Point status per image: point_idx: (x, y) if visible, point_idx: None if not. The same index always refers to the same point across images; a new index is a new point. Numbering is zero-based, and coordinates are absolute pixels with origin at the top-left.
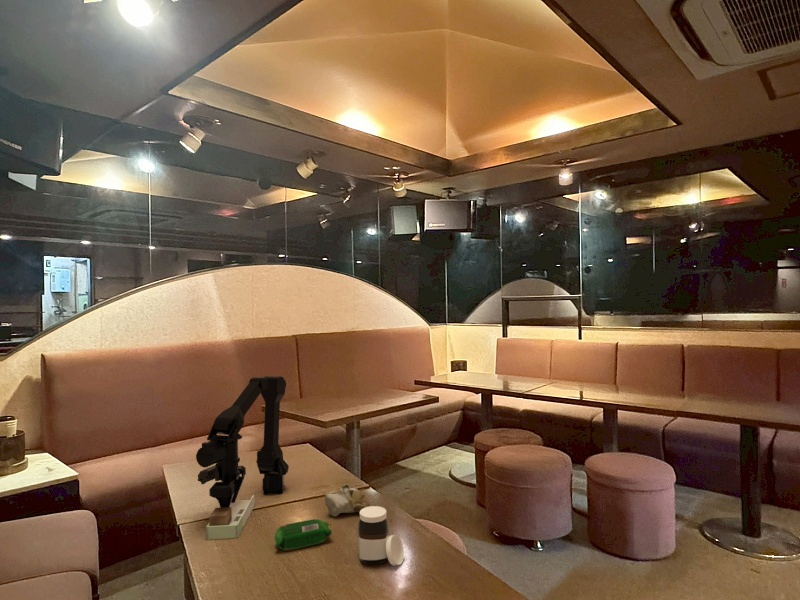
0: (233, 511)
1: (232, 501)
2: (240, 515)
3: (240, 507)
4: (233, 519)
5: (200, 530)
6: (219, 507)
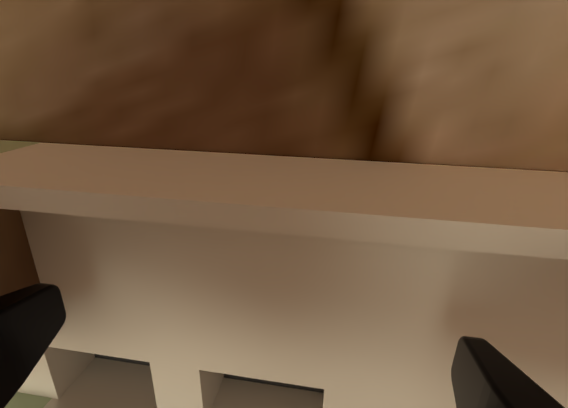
0: (276, 332)
1: (463, 367)
2: (168, 394)
3: (378, 391)
4: (80, 346)
5: (16, 9)
6: (250, 205)
